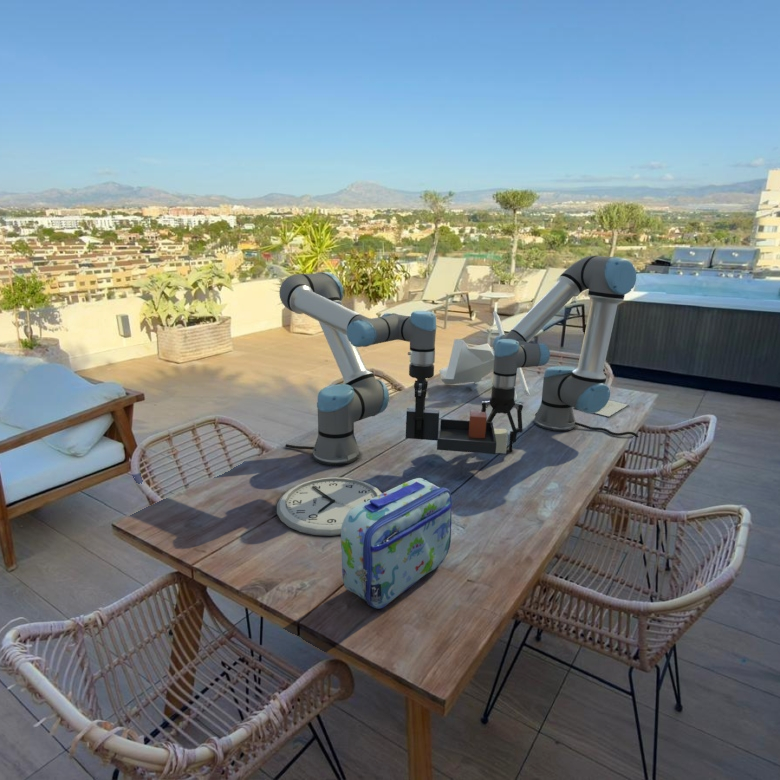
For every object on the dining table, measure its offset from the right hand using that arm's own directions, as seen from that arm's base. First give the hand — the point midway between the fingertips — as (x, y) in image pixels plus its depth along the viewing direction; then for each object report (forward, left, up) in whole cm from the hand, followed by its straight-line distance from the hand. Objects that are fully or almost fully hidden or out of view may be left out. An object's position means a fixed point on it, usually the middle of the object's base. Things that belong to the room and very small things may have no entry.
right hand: (498, 449), depth 180 cm
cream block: (0, 0, 0) cm, 0 cm away
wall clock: (+48, +45, 0) cm, 66 cm away
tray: (+17, +17, +10) cm, 26 cm away
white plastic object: (+3, -66, 0) cm, 66 cm away
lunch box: (+27, +74, 0) cm, 79 cm away
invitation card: (-48, -54, 0) cm, 72 cm away
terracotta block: (+8, +13, +10) cm, 18 cm away
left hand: (+26, +17, +10) cm, 33 cm away
